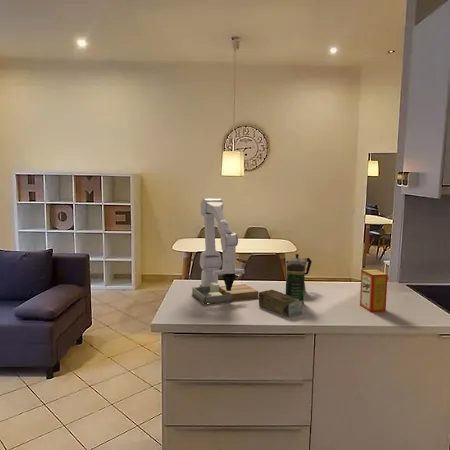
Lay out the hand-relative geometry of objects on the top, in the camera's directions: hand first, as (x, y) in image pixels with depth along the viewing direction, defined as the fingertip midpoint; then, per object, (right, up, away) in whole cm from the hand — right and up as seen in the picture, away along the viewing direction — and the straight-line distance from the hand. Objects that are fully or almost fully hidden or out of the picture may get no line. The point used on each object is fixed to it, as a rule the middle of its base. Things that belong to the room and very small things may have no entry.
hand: (228, 290), depth 188 cm
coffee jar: (+29, -5, -5) cm, 30 cm away
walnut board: (+4, -3, +7) cm, 9 cm away
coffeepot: (+34, -3, +16) cm, 38 cm away
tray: (-8, -4, +2) cm, 9 cm away
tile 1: (-6, 0, +5) cm, 8 cm away
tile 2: (-6, -2, -3) cm, 7 cm away
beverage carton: (+21, -6, -14) cm, 26 cm away
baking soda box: (+61, -6, -11) cm, 62 cm away
